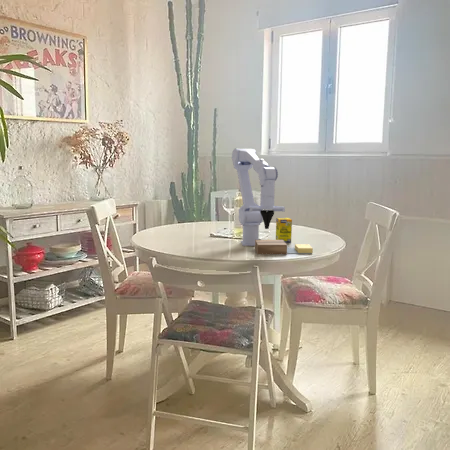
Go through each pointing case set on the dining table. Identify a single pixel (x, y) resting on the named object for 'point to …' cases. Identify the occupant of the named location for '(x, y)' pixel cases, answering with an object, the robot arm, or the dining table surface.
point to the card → (303, 248)
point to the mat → (294, 251)
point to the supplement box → (284, 229)
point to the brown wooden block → (270, 247)
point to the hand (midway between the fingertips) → (266, 228)
